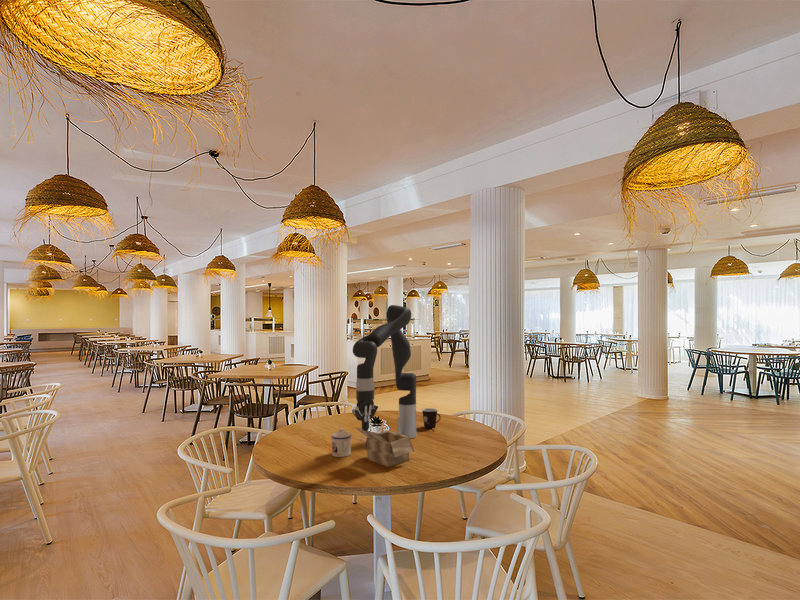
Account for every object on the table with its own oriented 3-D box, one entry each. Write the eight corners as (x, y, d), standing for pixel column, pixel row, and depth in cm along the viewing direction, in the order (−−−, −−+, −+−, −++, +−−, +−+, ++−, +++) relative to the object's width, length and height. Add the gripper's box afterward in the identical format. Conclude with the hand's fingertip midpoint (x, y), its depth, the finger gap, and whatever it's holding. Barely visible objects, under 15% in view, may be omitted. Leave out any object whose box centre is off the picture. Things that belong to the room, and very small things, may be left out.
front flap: (366, 436, 185) (355, 428, 180) (367, 435, 185) (356, 427, 181) (387, 442, 175) (375, 433, 171) (387, 441, 175) (376, 432, 171)
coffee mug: (420, 426, 242) (420, 408, 242) (434, 425, 245) (433, 407, 245) (427, 431, 231) (427, 413, 231) (441, 430, 233) (441, 411, 234)
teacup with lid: (329, 452, 195) (329, 427, 195) (348, 450, 199) (348, 425, 199) (336, 460, 184) (336, 434, 185) (355, 457, 188) (355, 431, 188)
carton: (363, 458, 187) (362, 434, 188) (388, 450, 198) (388, 428, 199) (394, 469, 173) (393, 444, 173) (419, 460, 184) (419, 436, 184)
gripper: (371, 385, 184) (371, 425, 183) (347, 389, 175) (347, 431, 174) (382, 387, 179) (383, 428, 178) (358, 391, 169) (358, 435, 168)
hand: (365, 430), depth 176 cm, fingers closed
